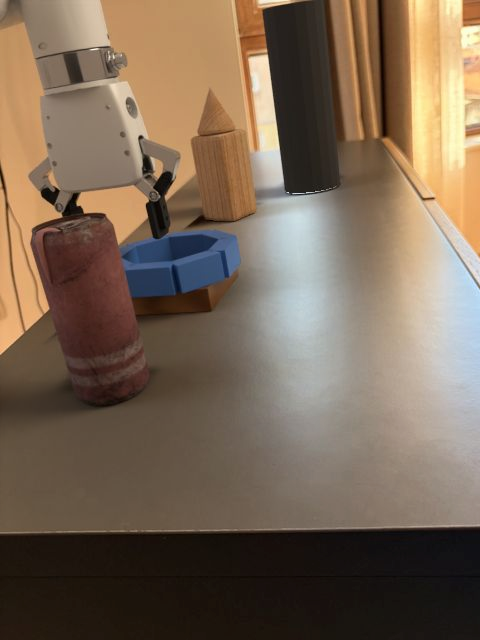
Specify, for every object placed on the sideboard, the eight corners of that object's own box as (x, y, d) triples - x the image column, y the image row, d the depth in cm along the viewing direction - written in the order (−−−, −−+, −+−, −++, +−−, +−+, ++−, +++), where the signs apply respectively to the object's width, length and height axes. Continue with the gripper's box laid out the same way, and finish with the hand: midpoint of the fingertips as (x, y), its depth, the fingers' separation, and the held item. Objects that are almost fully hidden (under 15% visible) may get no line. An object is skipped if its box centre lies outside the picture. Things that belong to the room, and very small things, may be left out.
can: (59, 406, 51) (5, 235, 45) (104, 370, 56) (61, 212, 50) (123, 412, 48) (74, 231, 43) (164, 373, 54) (126, 207, 48)
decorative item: (203, 221, 105) (179, 91, 97) (228, 211, 110) (208, 86, 102) (234, 222, 101) (212, 87, 93) (259, 211, 106) (240, 81, 98)
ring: (90, 300, 67) (82, 273, 65) (141, 259, 79) (136, 235, 78) (217, 292, 63) (212, 263, 62) (250, 250, 75) (246, 225, 74)
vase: (342, 179, 121) (326, 1, 109) (338, 191, 112) (320, -3, 100) (288, 185, 123) (267, 11, 111) (280, 197, 114) (256, 9, 102)
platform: (114, 316, 69) (109, 294, 68) (152, 281, 78) (148, 262, 77) (211, 311, 66) (207, 288, 65) (238, 276, 75) (235, 255, 74)
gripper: (171, 57, 65) (204, 223, 72) (23, 84, 69) (68, 238, 76) (143, 60, 58) (183, 242, 65) (-18, 90, 63) (35, 257, 70)
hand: (121, 240), depth 71 cm, fingers open, 9 cm apart
